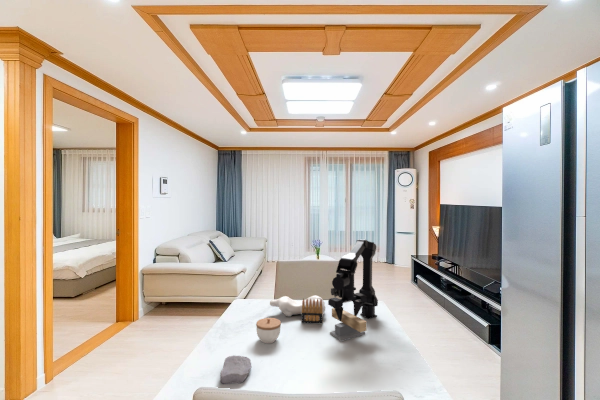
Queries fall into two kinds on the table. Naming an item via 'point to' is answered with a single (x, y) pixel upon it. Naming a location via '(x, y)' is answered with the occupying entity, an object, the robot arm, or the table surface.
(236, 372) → the stone block
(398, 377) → the table surface
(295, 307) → the torso sculpture
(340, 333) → the grey stepped block
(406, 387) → the table surface
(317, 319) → the ammunition clip
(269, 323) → the lidded jar
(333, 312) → the beam
